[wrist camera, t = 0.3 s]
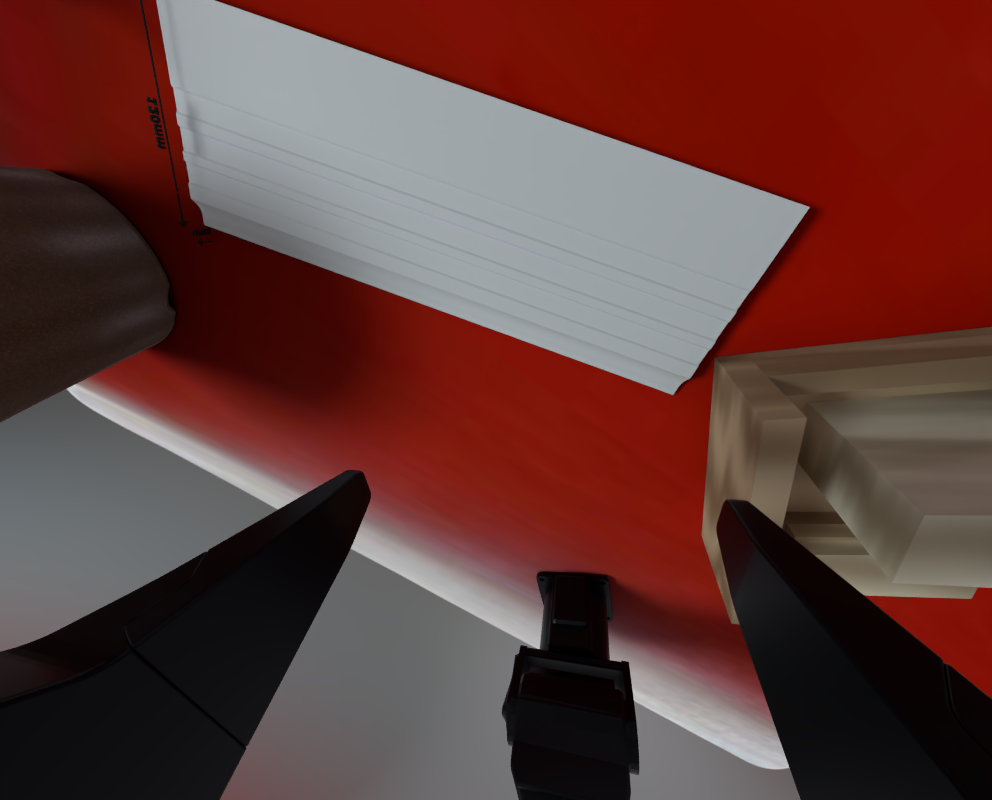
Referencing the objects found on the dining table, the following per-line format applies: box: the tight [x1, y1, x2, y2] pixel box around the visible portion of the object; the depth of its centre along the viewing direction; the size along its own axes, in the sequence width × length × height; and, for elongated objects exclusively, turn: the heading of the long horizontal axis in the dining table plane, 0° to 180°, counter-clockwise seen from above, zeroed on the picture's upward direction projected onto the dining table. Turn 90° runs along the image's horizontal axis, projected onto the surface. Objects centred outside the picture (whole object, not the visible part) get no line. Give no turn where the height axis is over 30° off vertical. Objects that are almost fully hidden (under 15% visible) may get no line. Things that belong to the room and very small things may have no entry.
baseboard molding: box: [140, 0, 810, 395], centre depth 19 cm, size 31×3×12 cm
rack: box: [702, 327, 992, 624], centre depth 18 cm, size 15×19×6 cm
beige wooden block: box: [797, 389, 992, 588], centre depth 16 cm, size 4×10×8 cm, turn 103°
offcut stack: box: [782, 512, 978, 599], centre depth 22 cm, size 4×14×3 cm, turn 103°
